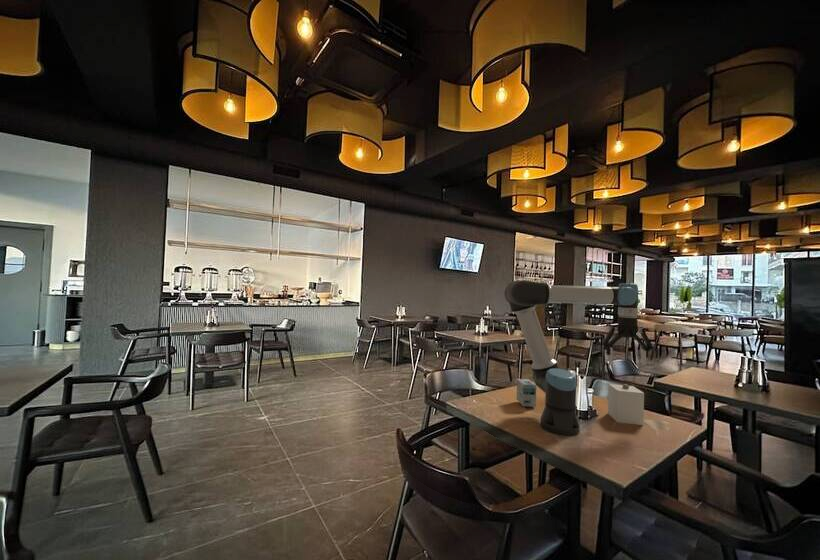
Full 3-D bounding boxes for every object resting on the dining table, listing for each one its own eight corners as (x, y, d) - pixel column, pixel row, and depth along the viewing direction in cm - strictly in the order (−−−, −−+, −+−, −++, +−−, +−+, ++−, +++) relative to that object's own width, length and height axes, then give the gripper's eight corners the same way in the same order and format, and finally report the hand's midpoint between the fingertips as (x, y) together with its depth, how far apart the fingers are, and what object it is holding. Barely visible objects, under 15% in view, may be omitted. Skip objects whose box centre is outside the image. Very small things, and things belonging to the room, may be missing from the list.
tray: (652, 429, 137) (652, 428, 137) (639, 419, 148) (639, 418, 148) (682, 432, 135) (682, 432, 135) (667, 422, 146) (667, 421, 146)
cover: (617, 422, 144) (617, 387, 144) (607, 413, 154) (608, 380, 154) (643, 425, 142) (644, 389, 142) (632, 416, 152) (633, 382, 152)
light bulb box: (536, 407, 159) (537, 385, 159) (522, 406, 159) (523, 384, 159) (528, 399, 170) (529, 378, 170) (515, 398, 170) (516, 378, 170)
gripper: (600, 316, 147) (599, 362, 147) (663, 319, 142) (662, 367, 142) (595, 314, 155) (593, 359, 154) (654, 317, 150) (653, 363, 149)
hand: (626, 363), depth 148 cm, fingers open, 13 cm apart
